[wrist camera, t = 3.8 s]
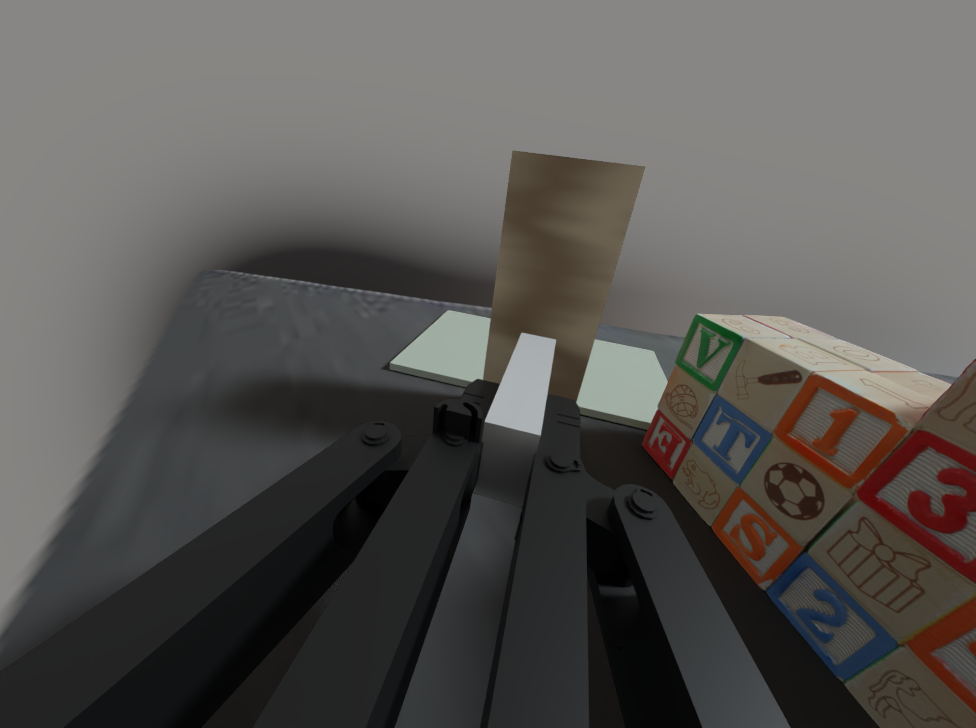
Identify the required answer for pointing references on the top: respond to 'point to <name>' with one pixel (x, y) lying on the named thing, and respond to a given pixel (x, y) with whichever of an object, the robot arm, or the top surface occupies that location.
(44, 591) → the top surface
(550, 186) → the maple block
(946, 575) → the stack of blocks
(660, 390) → the sage cutting board
